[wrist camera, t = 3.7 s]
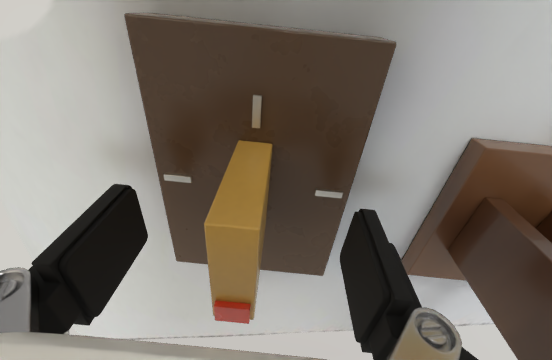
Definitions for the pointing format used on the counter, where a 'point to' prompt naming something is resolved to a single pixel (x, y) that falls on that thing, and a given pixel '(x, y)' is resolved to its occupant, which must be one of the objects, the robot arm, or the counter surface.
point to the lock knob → (238, 232)
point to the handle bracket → (496, 239)
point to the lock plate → (257, 123)
